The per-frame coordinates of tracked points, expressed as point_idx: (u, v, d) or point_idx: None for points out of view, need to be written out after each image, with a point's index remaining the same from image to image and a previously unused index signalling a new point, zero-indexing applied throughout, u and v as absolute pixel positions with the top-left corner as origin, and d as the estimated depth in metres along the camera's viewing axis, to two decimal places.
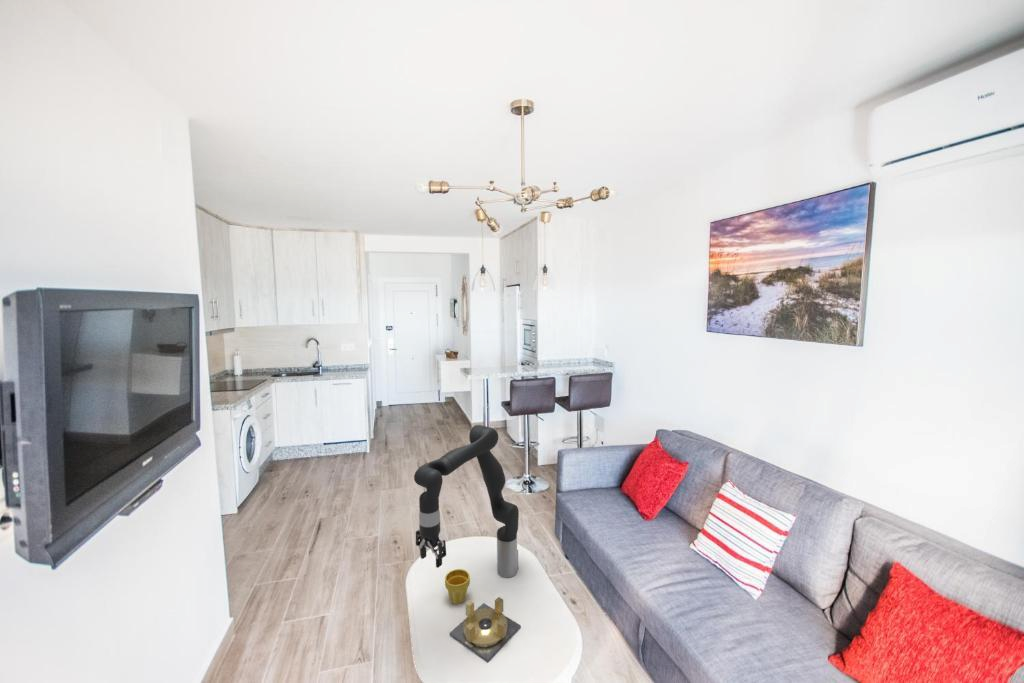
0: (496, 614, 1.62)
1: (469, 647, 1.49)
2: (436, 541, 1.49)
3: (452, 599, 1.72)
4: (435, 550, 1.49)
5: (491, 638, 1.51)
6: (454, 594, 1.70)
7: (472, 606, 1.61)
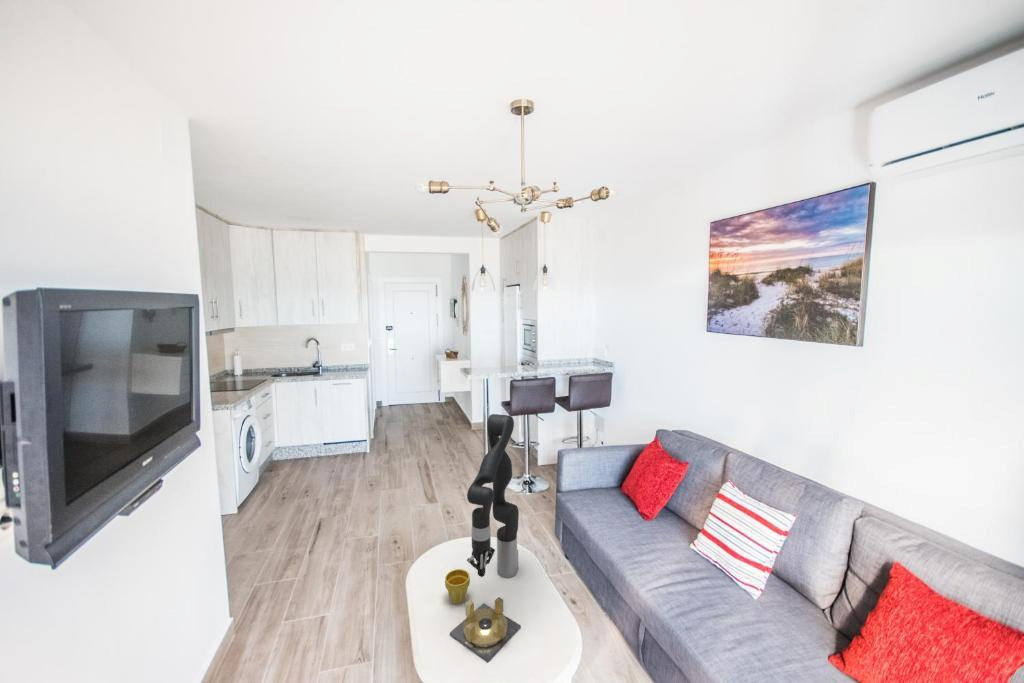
0: (496, 614, 1.62)
1: (469, 647, 1.49)
2: None
3: (452, 599, 1.72)
4: None
5: (491, 638, 1.51)
6: (454, 594, 1.70)
7: (472, 606, 1.61)
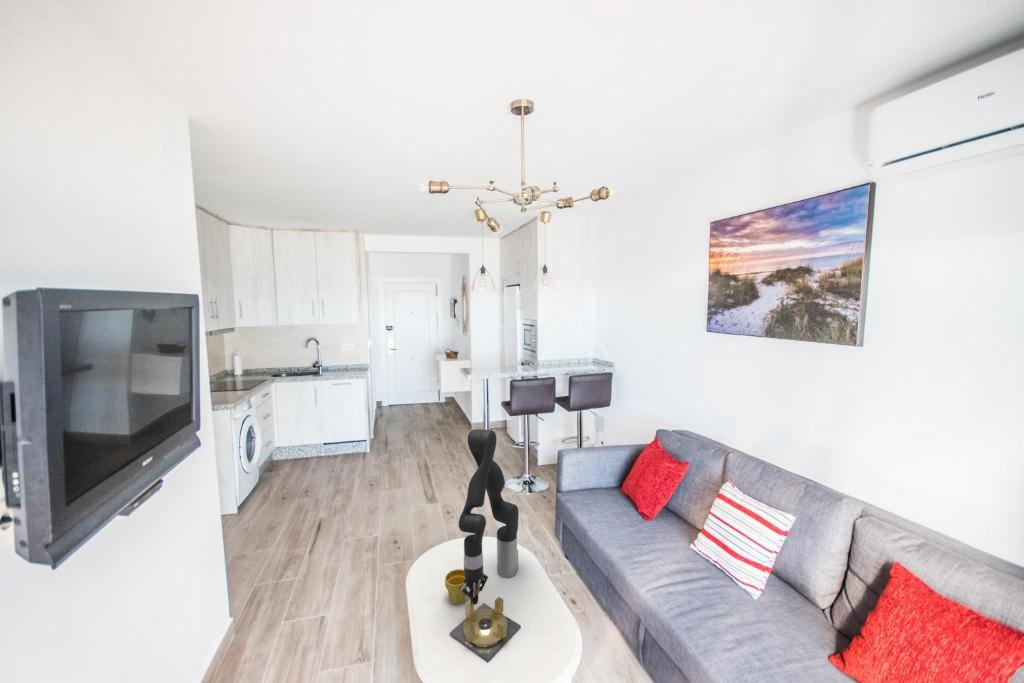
0: (496, 614, 1.62)
1: (469, 647, 1.49)
2: (483, 575, 1.65)
3: (452, 599, 1.72)
4: None
5: (491, 638, 1.51)
6: (454, 594, 1.70)
7: (472, 606, 1.61)
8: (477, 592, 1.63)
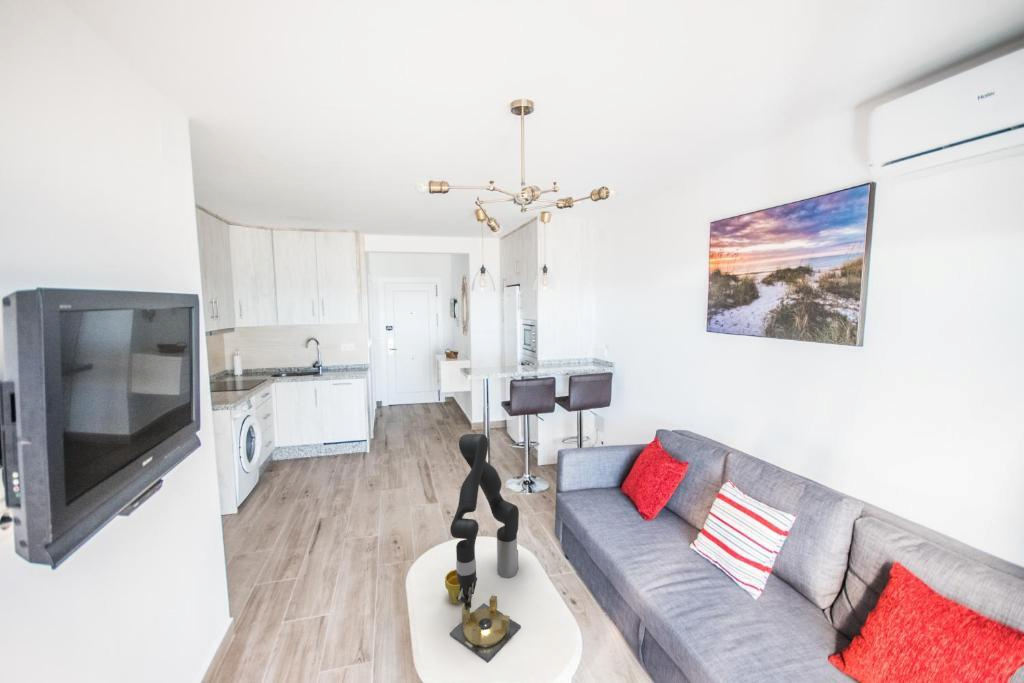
0: (491, 612, 1.63)
1: (469, 647, 1.49)
2: None
3: (452, 599, 1.72)
4: None
5: (496, 635, 1.52)
6: (454, 594, 1.70)
7: (468, 610, 1.59)
8: (471, 596, 1.61)
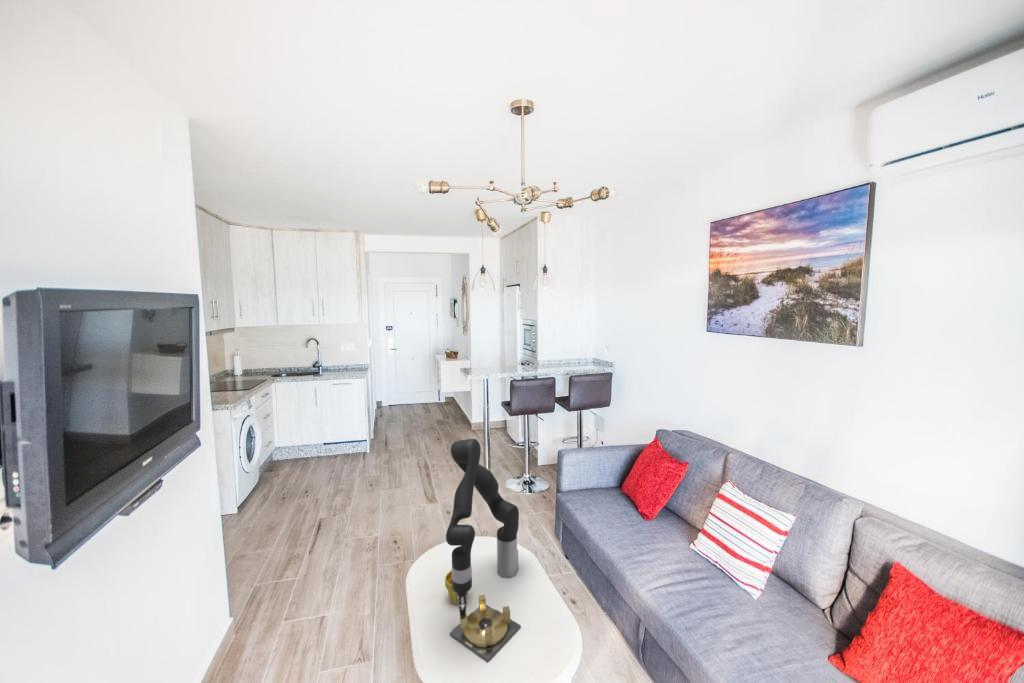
0: (483, 612, 1.63)
1: (469, 647, 1.49)
2: None
3: (452, 599, 1.72)
4: None
5: (502, 629, 1.55)
6: (454, 594, 1.70)
7: (466, 617, 1.55)
8: None
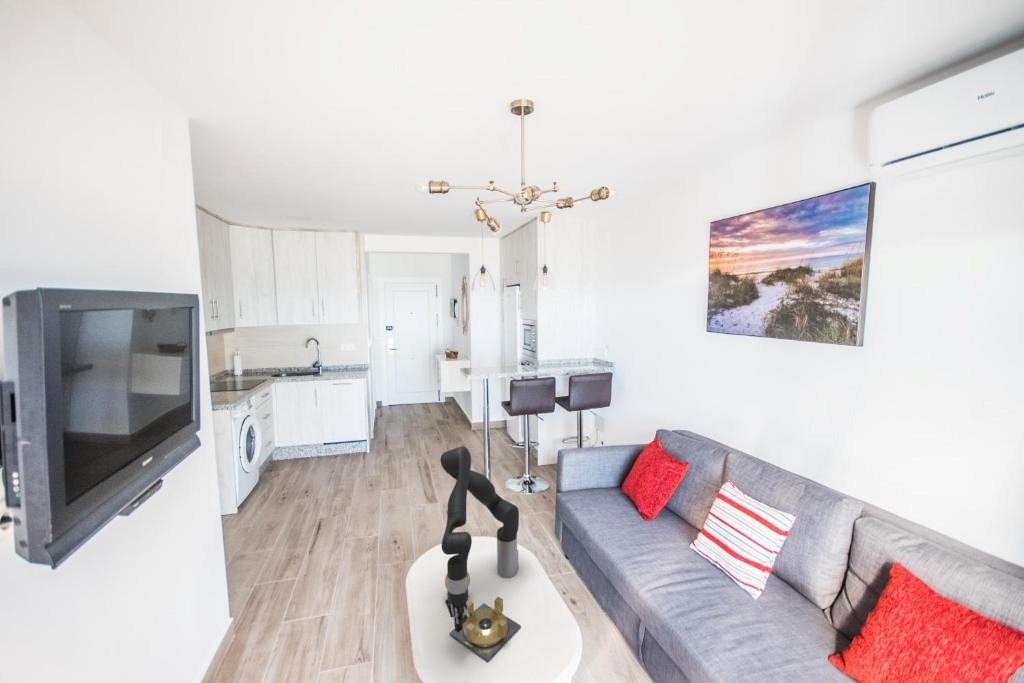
0: (473, 617, 1.61)
1: (469, 647, 1.49)
2: None
3: None
4: None
5: (502, 619, 1.60)
6: None
7: None
8: None
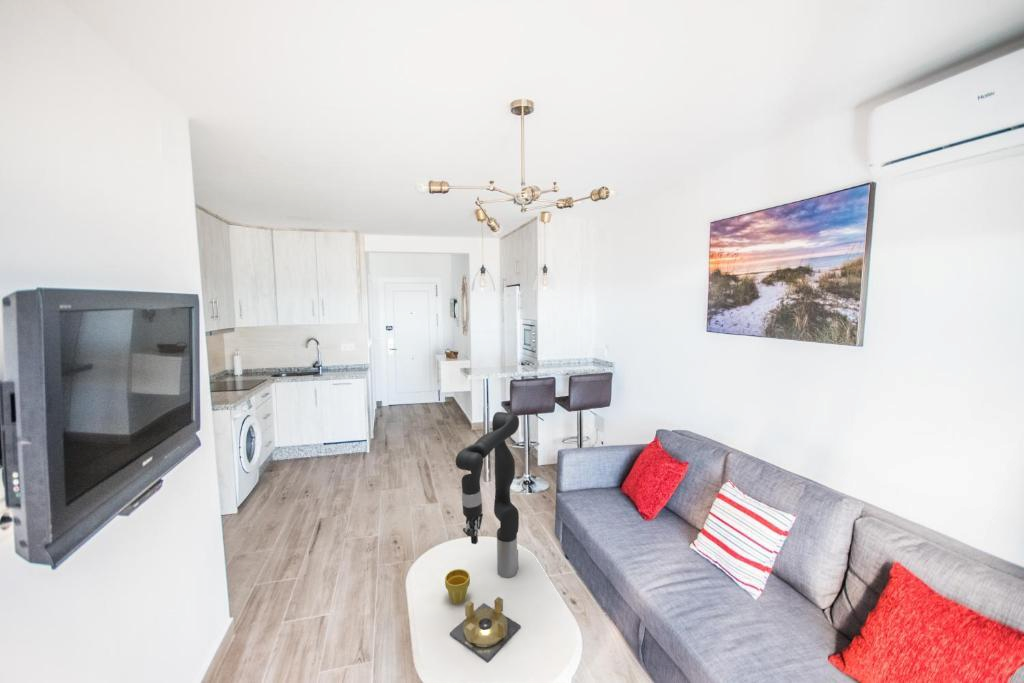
0: (473, 617, 1.61)
1: (469, 647, 1.49)
2: None
3: (452, 599, 1.72)
4: None
5: (502, 619, 1.60)
6: (454, 594, 1.70)
7: None
8: (477, 530, 1.62)
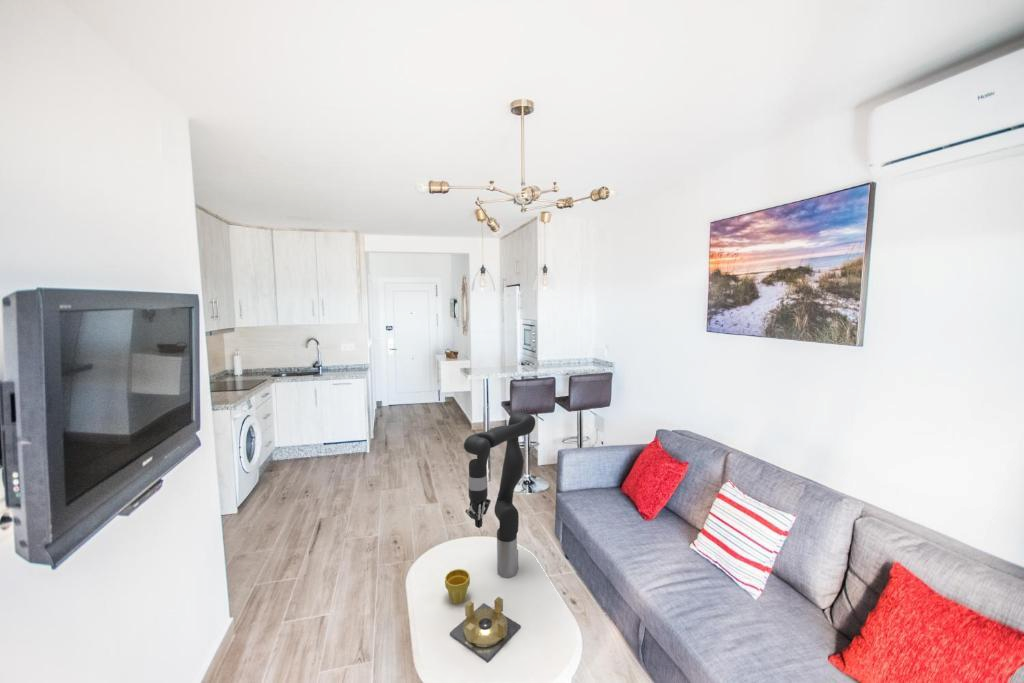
0: (473, 617, 1.61)
1: (469, 647, 1.49)
2: None
3: (452, 599, 1.72)
4: None
5: (502, 619, 1.60)
6: (454, 594, 1.70)
7: None
8: (481, 515, 1.65)
